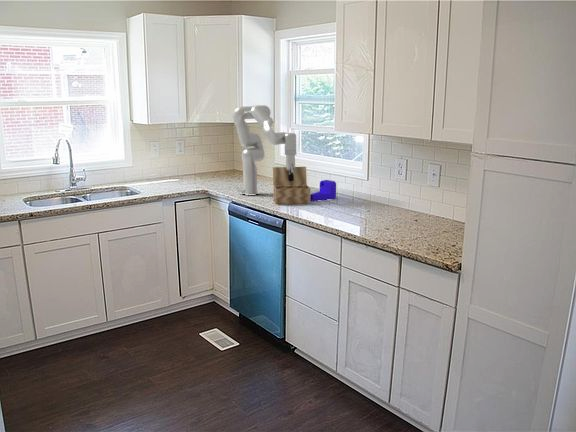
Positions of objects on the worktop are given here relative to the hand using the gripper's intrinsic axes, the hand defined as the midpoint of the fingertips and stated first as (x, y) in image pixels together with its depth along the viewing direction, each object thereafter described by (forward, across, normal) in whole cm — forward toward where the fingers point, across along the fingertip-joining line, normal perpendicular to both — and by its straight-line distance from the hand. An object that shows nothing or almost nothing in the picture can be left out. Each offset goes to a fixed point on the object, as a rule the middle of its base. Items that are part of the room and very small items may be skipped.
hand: (291, 180), depth 342 cm
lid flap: (-3, -2, 0) cm, 4 cm away
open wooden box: (+13, +5, -1) cm, 14 cm away
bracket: (+14, -3, +20) cm, 25 cm away
